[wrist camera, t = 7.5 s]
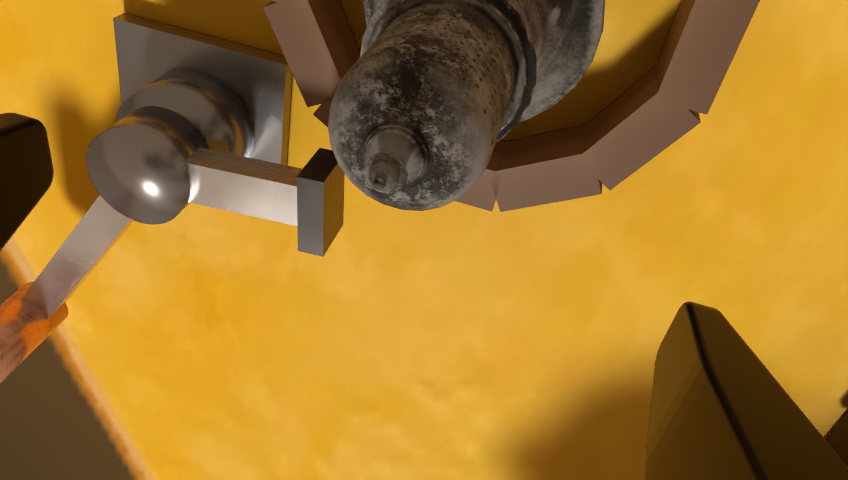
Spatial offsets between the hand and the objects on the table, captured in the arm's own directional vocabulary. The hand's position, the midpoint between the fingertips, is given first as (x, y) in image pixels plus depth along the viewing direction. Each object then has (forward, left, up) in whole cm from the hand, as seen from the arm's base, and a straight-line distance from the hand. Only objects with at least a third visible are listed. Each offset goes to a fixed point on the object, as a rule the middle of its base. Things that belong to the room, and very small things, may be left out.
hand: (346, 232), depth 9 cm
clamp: (+9, +11, -10) cm, 17 cm away
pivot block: (+9, +7, -13) cm, 17 cm away
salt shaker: (0, 0, -13) cm, 13 cm away
